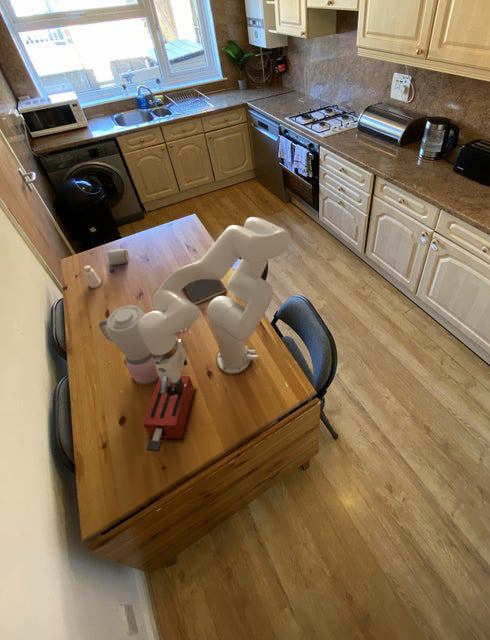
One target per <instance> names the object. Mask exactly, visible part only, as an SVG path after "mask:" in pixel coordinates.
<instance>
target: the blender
mask: <svg viewBox="0 0 490 640" xmlns="http://www.w3.org/2000/svg"><path fill="white" fill-rule="evenodd" d="M144 315H145V313H144V311H143V309H141V307H139V306H137V305H133V304H131V305H130V304H129V305H124V306H121V307H119V308H116V309H115V310H114V311H112V312H111V314H110V315H109V316H108V318H107V319H103V320H101V321H100V322H99V324H98V326H99V329H100V330H101V333H102V334H103V336H104V337H105V339H106V340H107V341H109V342H114V344H115V346H116V347H117V349H118V350H119V351H120V352H121V353H122V354H123V355H124V361H123V362H124V365H125V367H126V369H127V370H128V372H129V374H130V375H131V378H132V379H133V381H134V382H135V383H136V384H138V385H141V386H148V385H151V384H154V383H157V382H158V379H159V376H158V373H157V371H156V367H155V363H154V359H153V358H152V356H151V354H150V352H149V350H148V348H147V346H146V344H145V342H144V340H143V338H142V336H141V334H140V332H139V330H138V323H139V321H140V319H141V318H142V317H143V316H144Z"/></svg>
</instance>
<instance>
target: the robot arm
mask: <svg viewBox="0 0 490 640" xmlns="http://www.w3.org/2000/svg"><path fill="white" fill-rule="evenodd" d="M291 238H292V237H291V234H290V232H289V231H287V230H286V229H284V228H282V227H280V226H278V225H277V224H276V225H275V224H274V223H271V222H269V221H267V220H265V219H263V218H261V217H257V216H251V217H248V218H247V219H246V220H245V222H244V224H243V226H241V225H237V224H232V225H229V226H228V227H227V228H225V230H224V231H223V232H222V233H221V234H220V236H219V237H218V238H217V239H216V240H215V241H214V243H213V244H212V245H211V246H210V247H209V249H208V250H207V251H206V252H205V254H204V255H203V256H202V257H201V258H199V260H197V261H195V262H192V263H189V264H187V265H185V266H182V267H181V268H179V269H177V270H175V271H173V272H172V273H171V274H169V276H167V278H166V279H165V280H164V281H163V282H162V283H161V285H160V286H158V287H159V289H158V290H157V291H156V293H155V295H154V294H153V298H152V306H153V308H154V310H152V311H149V312H147V313H144V316H143V317H142V318H141V319H140V321H139V323H138V330H139V332H140V334H141V336H142V338H143V340H144V342H145V344H146V346H147V348H148V350H149V352H150V354H151V356H152V358H153V359H154V363H155V367H156V371H157V373H158V376H159V378H160V380H161V381H162V385H161V393H168V394H169V395H170V396H174V395H178V394H179V392H178V390H177V387H176V386H175V383H177V382H178V380H179V378H180V375H182V371H183V369H184V366H187V365H188V361H187V357H186V356H187V353H186V351H185V348H184V345H183V339H180V338H179V339H178V338H177V337H176V336H175V334H177V333H180V331H181V330H183V329H185V328H187V327H188V328H189V327H191V326H192V325H194V323H195V322H196V321H197V320H198V319H199V318H200V317H199V316H200V309H199V307H198V305H195V304H193V303H192V302H191V301H190V299H189V298H187V297H186V296H185V295H183V294H181V291H182V290H183V289H184V287H185V286H186V285H187V284H189V283H190V282H193V281H195V280H200V279H213V280H220V281H221V280H222V279H224V278H225V276H227V274H228V272H230V270H231V269H232V268H233V266H234V265H235V264H236V262H237V261H238V260H239V259H240V260H239V262H238V264H237V266H236V267H235V269H234V271H233V272H232V273H231V275H230V278H229V280H228V282H227V288H226V289H227V291H228V292H229V293H230V294H231V295H232V296H234V297H235V298H237V299H238V300H240V301H242V302H243V303H244V304H246V307H244V306H243V305H242V304H240V303H239V302H237V301H236V300H235V299H233V298H231V297H229V296H227V295H219V296H216V297H214V298H212V300H211V301H210V302H209V304H208V306H207V312H206V313H207V318H208V320H209V323H210V324H211V327H212V329H213V331H214V335H215V339H216V343H217V347H218V351H219V352H218V355H217V366H218V367H219V369H220V370H221V371H222V372H224V373H225V374H230V375H231V374H232V375H233V374H240V373H241V372H243V371H245V369H247V368H248V366H250V364H251V361H254V362H255V361H257V362H258V361H259V355H258V354H256V353H257V350H256V349H250V348H249V347H248V345H246V342H245V341H246V340H248V339H250V338H251V337H252V335H253V334H254V333H255V331H256V329H257V328H258V326H259V324H260V322H261V321H262V319H263V317H264V315H265V314H266V312H267V310H268V308H269V307H270V304H271V303H272V300H273V297H274V288H273V286H272V285H271V283H270V282H268V281H267V280H265V279H263V278H262V275H263V273H264V271H265V269H266V267H267V265H268V261H269V260H271V259H273V258H276V257H279V256H281V255H282V254H284V253H286V251H287V250H288V248H289V247H290V246H291V241H292V239H291ZM188 328H187V329H188ZM168 382H171V386H167V383H168Z"/></svg>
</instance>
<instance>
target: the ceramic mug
mask: <svg viewBox="0 0 490 640" xmlns="http://www.w3.org/2000/svg"><path fill="white" fill-rule="evenodd" d="M107 257H108V261H109V264H110V265H111V266H116V265H120V264H125V263H128V262H129V260H130V257H129V252H128V249H126V248H118V249H110V250H108V253H107Z"/></svg>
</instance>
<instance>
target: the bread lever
mask: <svg viewBox="0 0 490 640" xmlns="http://www.w3.org/2000/svg"><path fill="white" fill-rule="evenodd" d="M161 434H162V428H156V430H155V433H154V436H153V439H151V440H148V441H147V445H146V448H145V450H146V452H160V451H161V448H162V447H161V446H162V443H163V442H162V440H160V437H161Z"/></svg>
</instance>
